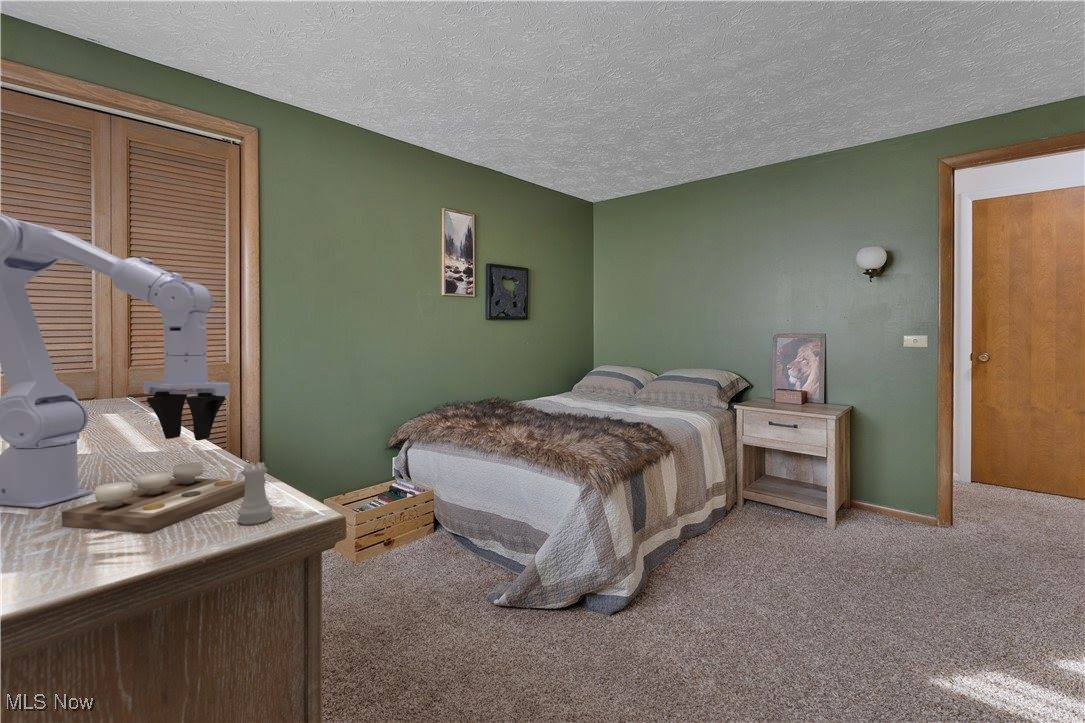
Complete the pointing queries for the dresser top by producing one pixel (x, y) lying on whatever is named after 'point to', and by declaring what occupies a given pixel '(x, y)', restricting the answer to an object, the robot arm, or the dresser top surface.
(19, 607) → the dresser top surface
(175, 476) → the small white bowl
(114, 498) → the button near
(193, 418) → the robot arm
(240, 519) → the rook chess piece
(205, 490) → the board
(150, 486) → the button mid
